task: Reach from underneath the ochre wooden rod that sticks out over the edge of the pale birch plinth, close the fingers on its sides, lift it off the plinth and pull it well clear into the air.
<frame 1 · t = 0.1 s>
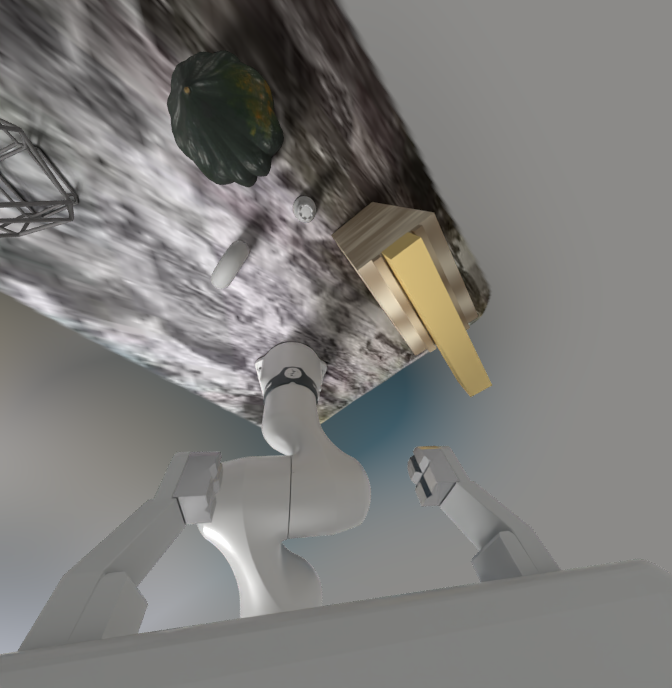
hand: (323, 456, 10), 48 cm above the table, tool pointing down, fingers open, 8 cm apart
plinth: (371, 252, 53), on the table
geometric lantern: (31, 177, 40), on the table
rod: (438, 322, 34), point 26 cm above the table, touching plinth
donut: (236, 258, 51), on the table
squash: (236, 135, 41), on the table
rook chess piece: (304, 209, 48), on the table
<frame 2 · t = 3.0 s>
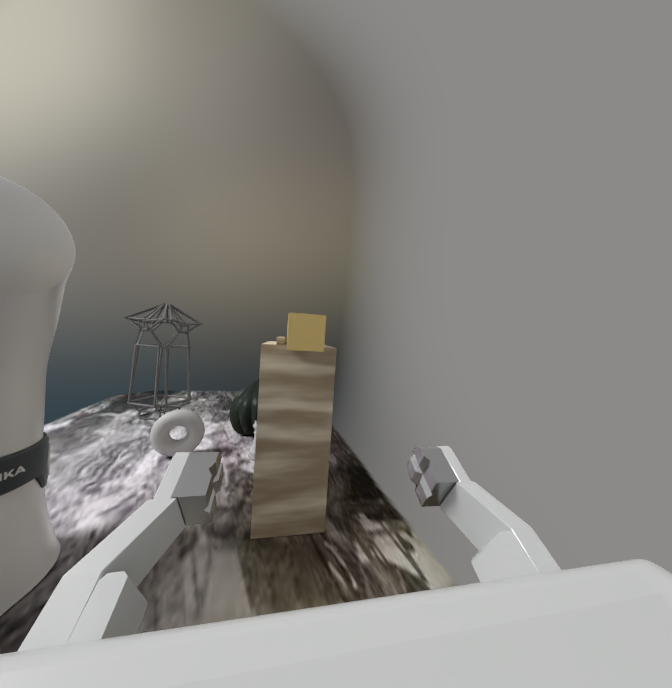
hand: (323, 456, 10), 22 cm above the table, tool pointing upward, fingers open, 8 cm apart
plinth: (288, 497, 42), on the table
geometric lantern: (161, 414, 78), on the table
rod: (298, 345, 36), point 26 cm above the table, touching plinth
donut: (177, 456, 53), on the table
squash: (256, 432, 69), on the table
rook chess piece: (258, 457, 55), on the table
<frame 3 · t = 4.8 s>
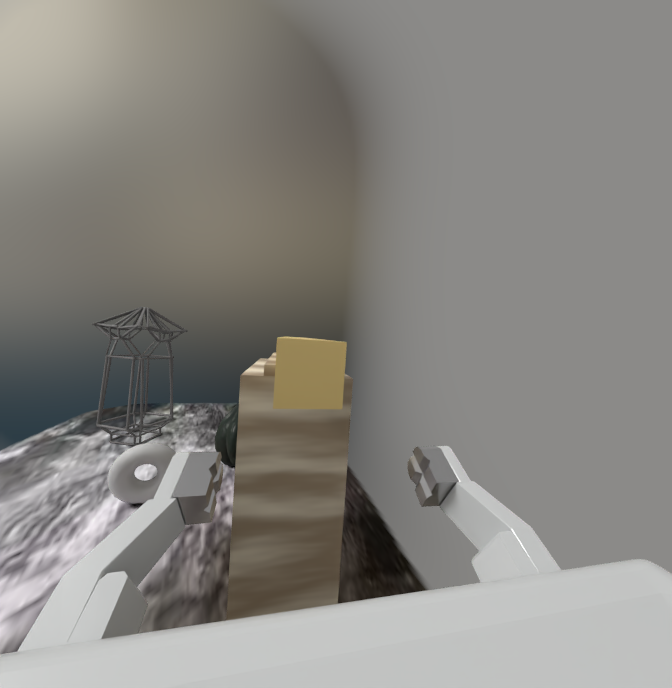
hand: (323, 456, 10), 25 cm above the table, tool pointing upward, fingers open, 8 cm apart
plinth: (283, 575, 31), on the table
geometric lantern: (138, 437, 67), on the table
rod: (297, 372, 25), point 26 cm above the table, touching plinth
donut: (144, 502, 42), on the table
squash: (248, 460, 58), on the table
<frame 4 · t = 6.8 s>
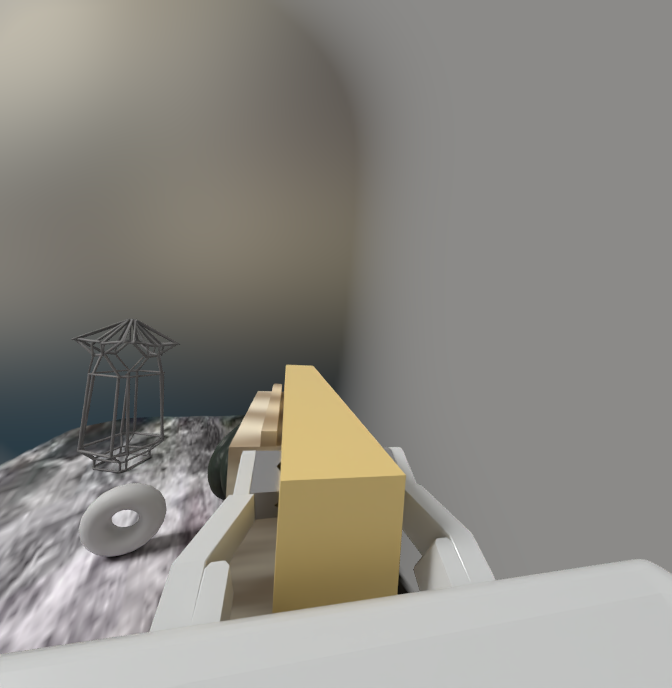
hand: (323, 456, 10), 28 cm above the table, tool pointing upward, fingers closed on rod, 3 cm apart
plinth: (285, 666, 25), on the table
geometric lantern: (125, 461, 61), on the table
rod: (304, 428, 20), point 26 cm above the table, touching gripper, plinth
donut: (123, 553, 36), on the table
squash: (245, 491, 52), on the table
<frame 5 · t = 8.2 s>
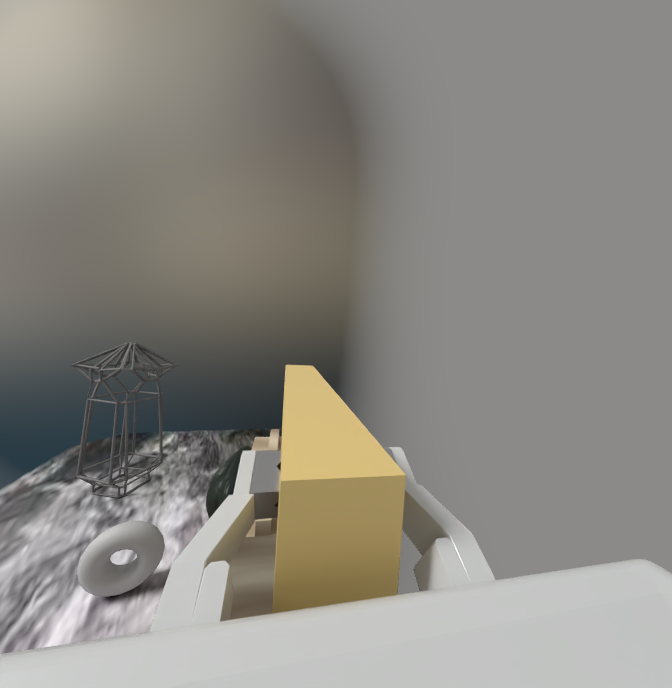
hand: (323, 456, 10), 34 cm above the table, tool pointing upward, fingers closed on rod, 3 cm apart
geometric lantern: (124, 483, 61), on the table
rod: (304, 428, 20), point 32 cm above the table, touching gripper
donut: (122, 591, 36), on the table
squash: (243, 518, 53), on the table
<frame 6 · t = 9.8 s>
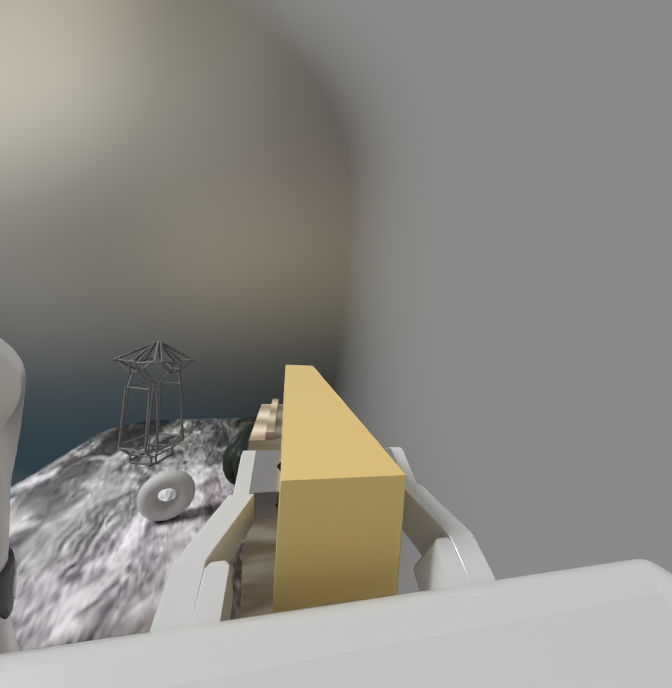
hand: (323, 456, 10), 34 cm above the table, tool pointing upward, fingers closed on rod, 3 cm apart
plinth: (281, 580, 39), on the table
geometric lantern: (153, 456, 75), on the table
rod: (304, 428, 20), point 32 cm above the table, touching gripper
donut: (166, 519, 51), on the table
squash: (251, 478, 67), on the table
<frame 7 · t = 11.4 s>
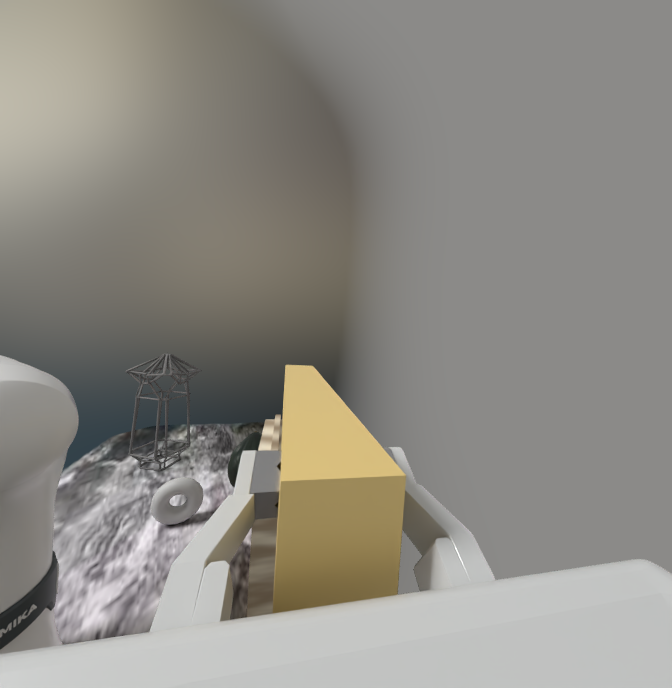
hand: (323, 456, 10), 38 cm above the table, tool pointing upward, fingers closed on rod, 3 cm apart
plinth: (282, 580, 44), on the table
geometric lantern: (161, 461, 80), on the table
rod: (304, 428, 20), point 36 cm above the table, touching gripper
donut: (176, 523, 55), on the table
squash: (254, 484, 71), on the table
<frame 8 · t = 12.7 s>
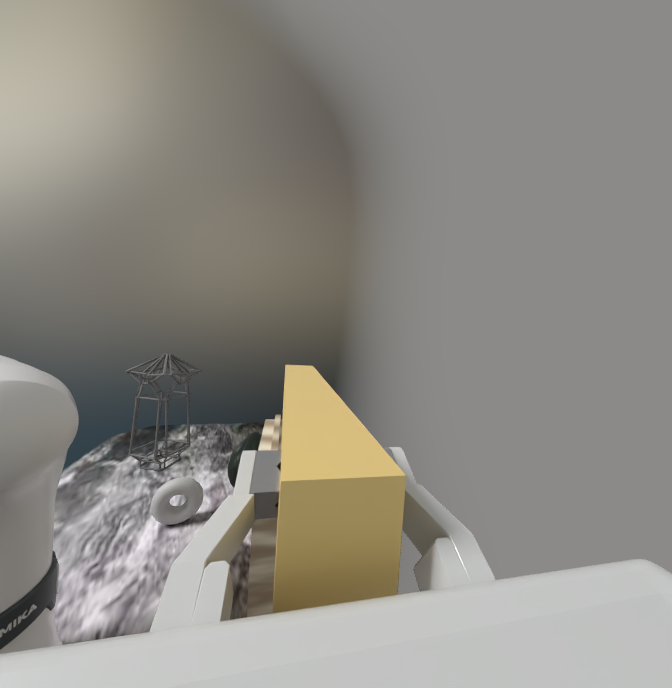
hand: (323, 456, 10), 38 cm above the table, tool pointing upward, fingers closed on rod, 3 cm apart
plinth: (282, 580, 44), on the table
geometric lantern: (161, 461, 80), on the table
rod: (304, 428, 20), point 36 cm above the table, touching gripper
donut: (176, 523, 55), on the table
squash: (254, 484, 71), on the table
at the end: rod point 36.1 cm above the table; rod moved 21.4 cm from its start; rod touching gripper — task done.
